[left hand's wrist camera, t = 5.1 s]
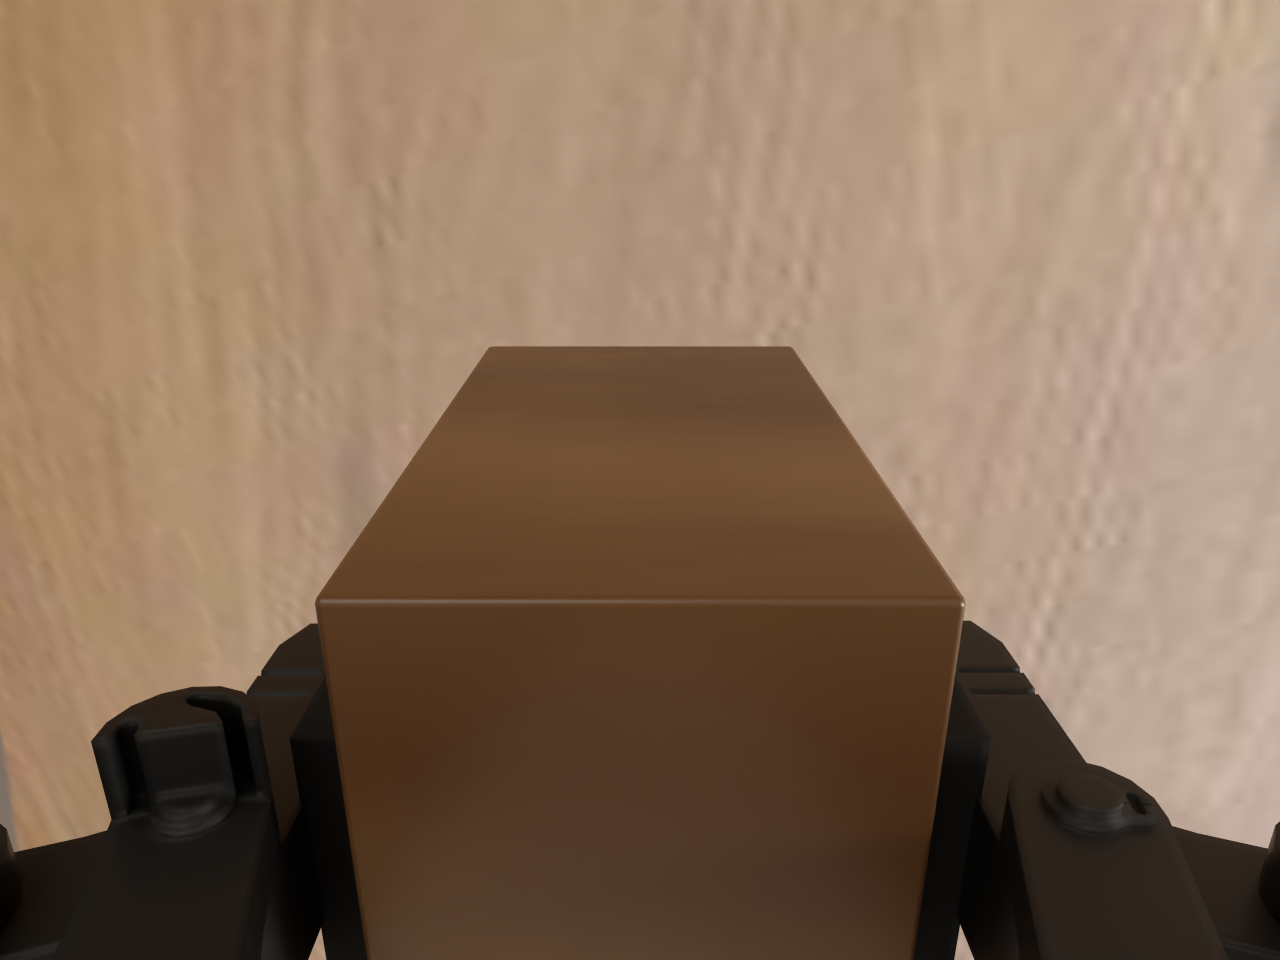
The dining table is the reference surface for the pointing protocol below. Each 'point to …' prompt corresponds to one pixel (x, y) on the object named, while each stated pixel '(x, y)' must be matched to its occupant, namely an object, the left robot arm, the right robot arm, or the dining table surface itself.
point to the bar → (640, 672)
